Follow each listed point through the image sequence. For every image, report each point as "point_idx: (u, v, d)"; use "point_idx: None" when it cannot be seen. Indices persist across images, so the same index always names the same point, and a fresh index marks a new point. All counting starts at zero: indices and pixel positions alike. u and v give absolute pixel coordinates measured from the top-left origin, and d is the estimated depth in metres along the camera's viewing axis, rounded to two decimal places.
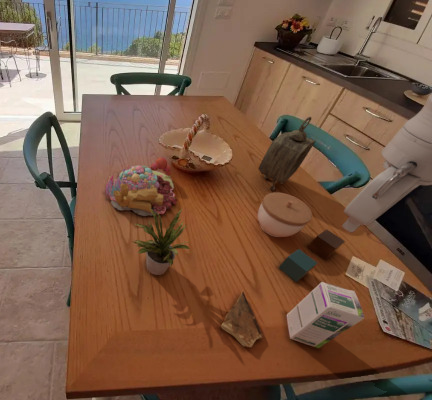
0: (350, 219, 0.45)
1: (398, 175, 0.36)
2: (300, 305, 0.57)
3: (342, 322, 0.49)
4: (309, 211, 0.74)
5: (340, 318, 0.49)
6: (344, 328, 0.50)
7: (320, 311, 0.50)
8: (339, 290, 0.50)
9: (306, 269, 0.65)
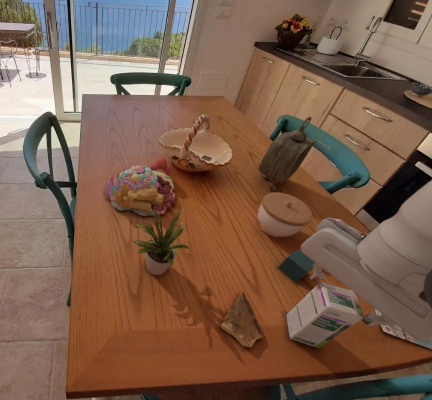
0: None
1: (334, 220, 0.46)
2: (299, 305, 0.57)
3: (342, 321, 0.49)
4: (309, 211, 0.74)
5: (340, 318, 0.49)
6: (343, 327, 0.50)
7: (319, 311, 0.50)
8: (338, 290, 0.50)
9: (306, 269, 0.65)
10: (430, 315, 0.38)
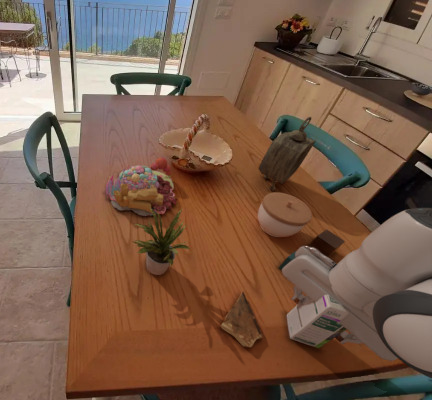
0: None
1: (309, 248, 0.51)
2: (299, 305, 0.57)
3: None
4: (309, 211, 0.74)
5: (340, 318, 0.49)
6: (343, 328, 0.50)
7: (320, 311, 0.50)
8: None
9: None
10: None
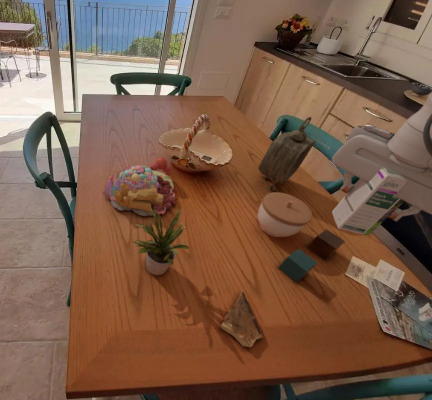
0: None
1: (364, 126, 0.51)
2: (348, 194, 0.57)
3: None
4: (309, 211, 0.74)
5: (397, 189, 0.49)
6: (399, 202, 0.50)
7: (376, 185, 0.50)
8: None
9: (306, 269, 0.65)
10: None
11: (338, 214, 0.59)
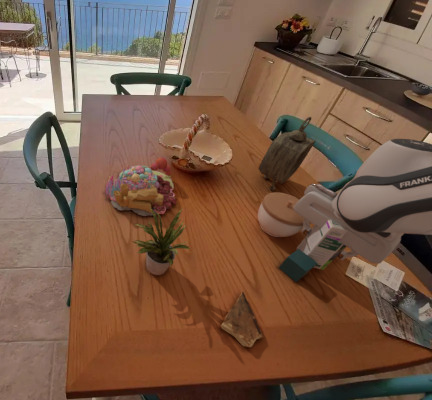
0: None
1: (316, 185, 0.65)
2: (307, 236, 0.71)
3: None
4: None
5: (340, 237, 0.62)
6: (343, 246, 0.64)
7: (324, 233, 0.64)
8: None
9: (306, 269, 0.65)
10: (378, 243, 0.57)
11: None
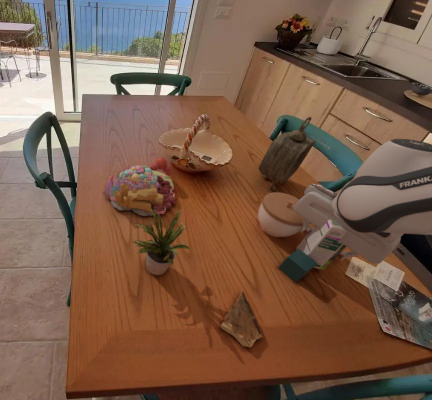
0: None
1: (315, 185, 0.65)
2: (307, 236, 0.71)
3: None
4: None
5: (340, 237, 0.62)
6: (343, 246, 0.64)
7: (324, 233, 0.64)
8: None
9: (306, 269, 0.65)
10: (378, 243, 0.57)
11: None
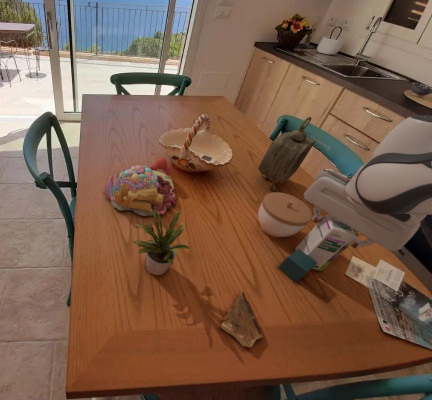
0: None
1: (327, 170, 0.62)
2: (307, 237, 0.71)
3: (342, 242, 0.63)
4: (309, 211, 0.74)
5: (340, 239, 0.63)
6: (342, 248, 0.64)
7: (325, 235, 0.64)
8: None
9: (306, 269, 0.65)
10: (396, 228, 0.53)
11: None
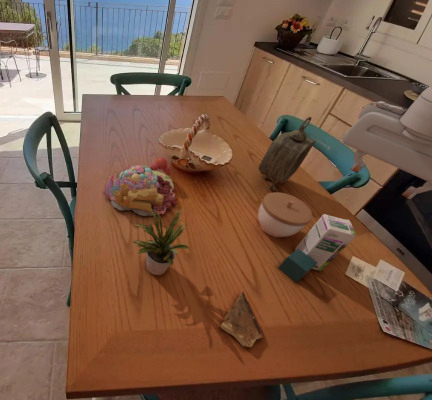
0: None
1: (376, 103, 0.51)
2: (306, 237, 0.71)
3: (339, 242, 0.63)
4: (309, 211, 0.74)
5: (338, 239, 0.63)
6: (340, 247, 0.64)
7: (322, 235, 0.64)
8: (337, 219, 0.65)
9: (306, 269, 0.65)
10: None
11: None
